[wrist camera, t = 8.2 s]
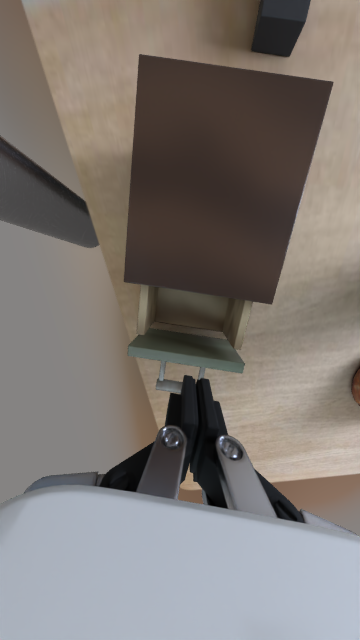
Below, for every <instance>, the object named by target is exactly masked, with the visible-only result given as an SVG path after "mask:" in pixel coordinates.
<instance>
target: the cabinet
mask: <svg viewBox="0 0 360 640" xmlns="http://www.w3.org/2000/svg"><path fill="white" fill-rule="evenodd" d="M332 86H333V82H331V81H324V80H317V79H310V78H303V77H296V76H289V75H282V74H275V73H268V72H261V71H254V70H247V69H240V68H233V67H226V66H219V65H212V64H205V63H198V62H191V61H184V60H177V59H170V58H163V57H156V56H149V55H142V54H139V65H138V80H137V94H136V109H135V124H134V139H133V153H132V168H131V183H130V198H129V213H128V227H127V242H126V257H125V272H124V282H128V283H135V284H141V285H148V286H154V287H161V288H167V289H174V290H181V291H187V292H194V293H200V294H207V295H213V296H220V297H227V298H233V299H240V300H246V301H253V302H259V303H266V304H272V303H273V299H274V296H275V292H276V288H277V285H278V281H279V278H280V274H281V270H282V267H283V263H284V259H285V256H286V252H287V249H288V245H289V241H290V238H291V234H292V231H293V227H294V223H295V220H296V216H297V213H298V209H299V205H300V202H301V198H302V195H303V191H304V187H305V184H306V180H307V177H308V173H309V169H310V166H311V162H312V158H313V155H314V151H315V148H316V144H317V140H318V137H319V133H320V130H321V126H322V122H323V119H324V115H325V112H326V108H327V104H328V101H329V97H330V94H331V90H332Z"/></svg>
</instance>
